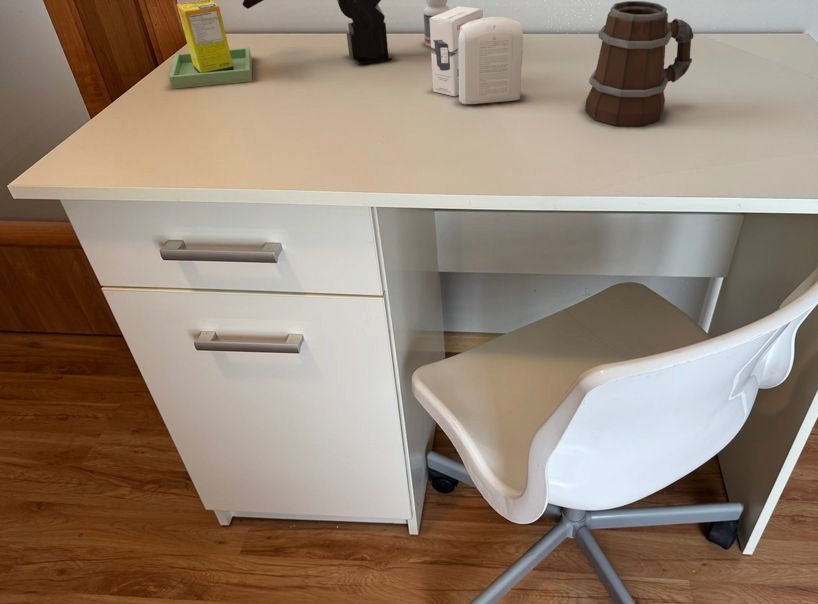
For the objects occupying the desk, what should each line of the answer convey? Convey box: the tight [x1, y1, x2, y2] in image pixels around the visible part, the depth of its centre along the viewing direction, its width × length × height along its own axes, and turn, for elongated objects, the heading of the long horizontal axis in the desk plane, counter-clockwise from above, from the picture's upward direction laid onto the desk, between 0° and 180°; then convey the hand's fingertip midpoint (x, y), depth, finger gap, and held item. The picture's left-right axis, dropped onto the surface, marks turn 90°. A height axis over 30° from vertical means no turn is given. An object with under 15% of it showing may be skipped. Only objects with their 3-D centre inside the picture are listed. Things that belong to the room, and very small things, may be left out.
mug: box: [584, 0, 694, 127], centre depth 100 cm, size 16×12×15 cm
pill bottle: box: [423, 0, 451, 48], centre depth 130 cm, size 5×5×9 cm
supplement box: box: [176, 0, 234, 73], centre depth 118 cm, size 6×6×11 cm
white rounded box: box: [458, 16, 524, 105], centre depth 105 cm, size 10×4×12 cm, turn 103°
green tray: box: [168, 47, 253, 90], centre depth 121 cm, size 13×13×2 cm
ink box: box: [430, 5, 484, 97], centre depth 110 cm, size 8×5×12 cm, turn 146°
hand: (245, 0), depth 116 cm, fingers open, 9 cm apart
